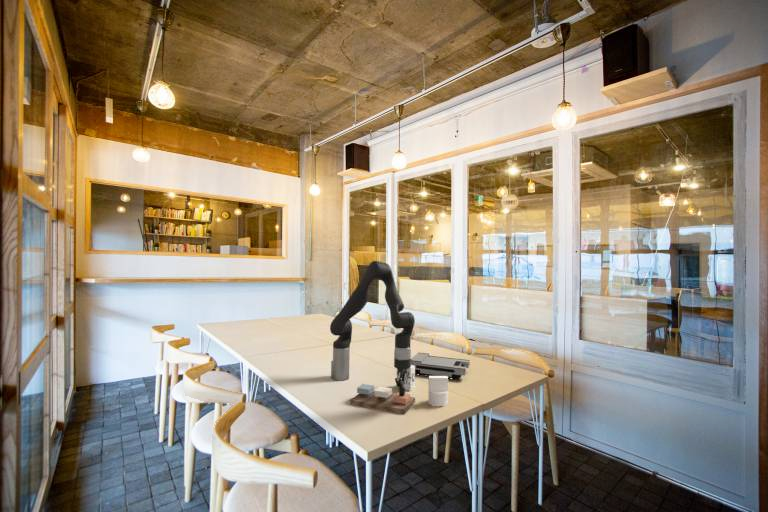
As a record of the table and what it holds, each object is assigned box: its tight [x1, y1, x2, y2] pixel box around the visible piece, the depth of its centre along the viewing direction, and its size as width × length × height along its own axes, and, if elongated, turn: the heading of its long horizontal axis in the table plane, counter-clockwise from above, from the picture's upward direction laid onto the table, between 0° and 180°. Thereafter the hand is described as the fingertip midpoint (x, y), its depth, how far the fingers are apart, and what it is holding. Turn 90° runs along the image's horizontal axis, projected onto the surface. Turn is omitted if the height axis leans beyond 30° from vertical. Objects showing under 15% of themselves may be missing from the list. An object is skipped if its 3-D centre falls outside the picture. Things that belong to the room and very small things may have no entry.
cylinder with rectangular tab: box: [427, 376, 449, 407], centre depth 167 cm, size 9×9×12 cm
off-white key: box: [374, 386, 393, 398], centre depth 165 cm, size 6×6×2 cm
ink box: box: [395, 365, 416, 392], centre depth 185 cm, size 9×5×12 cm, turn 58°
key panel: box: [350, 390, 416, 415], centre depth 165 cm, size 26×15×4 cm, turn 68°
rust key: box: [393, 391, 411, 404], centre depth 162 cm, size 6×6×2 cm
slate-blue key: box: [356, 383, 375, 395], centre depth 169 cm, size 6×6×2 cm
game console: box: [411, 352, 471, 380], centre depth 213 cm, size 21×32×8 cm, turn 69°
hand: (402, 395), depth 162 cm, fingers closed
